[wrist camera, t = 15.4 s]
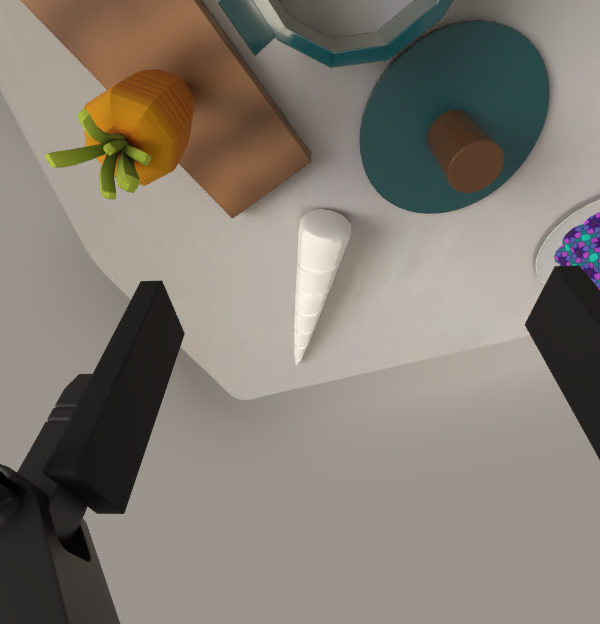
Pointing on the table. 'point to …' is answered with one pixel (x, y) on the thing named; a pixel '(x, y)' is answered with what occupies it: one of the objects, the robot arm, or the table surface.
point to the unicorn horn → (316, 269)
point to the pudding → (573, 244)
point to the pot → (329, 51)
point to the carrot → (134, 130)
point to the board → (200, 80)
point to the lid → (454, 116)
